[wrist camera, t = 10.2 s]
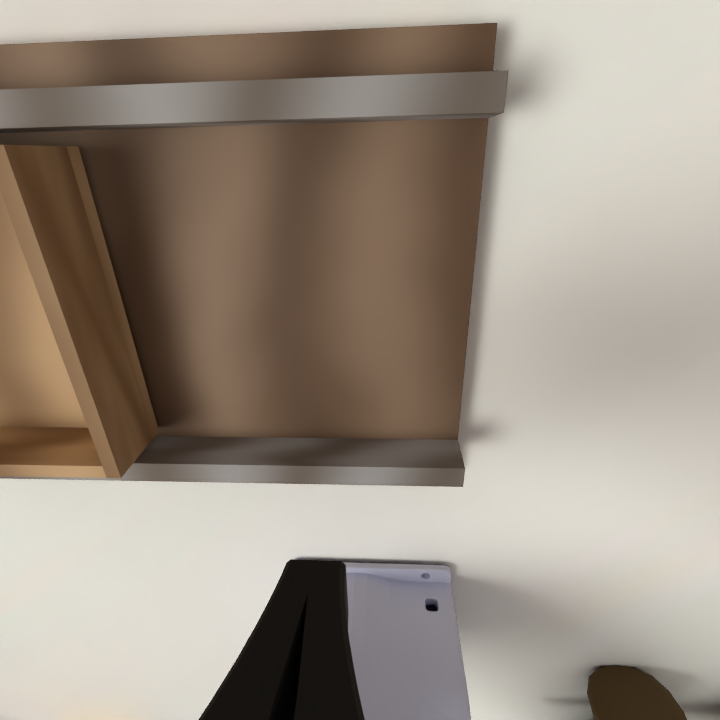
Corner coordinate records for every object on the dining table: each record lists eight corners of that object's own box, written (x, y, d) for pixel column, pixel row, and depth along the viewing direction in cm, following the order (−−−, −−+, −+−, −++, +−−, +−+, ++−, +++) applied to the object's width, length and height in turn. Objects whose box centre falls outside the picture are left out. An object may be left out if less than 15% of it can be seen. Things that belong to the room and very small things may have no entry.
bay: (489, 31, 14) (558, -48, 8) (450, 467, 22) (472, 571, 16) (-245, 62, 15) (-592, 12, 10) (-30, 460, 23) (-156, 553, 18)
